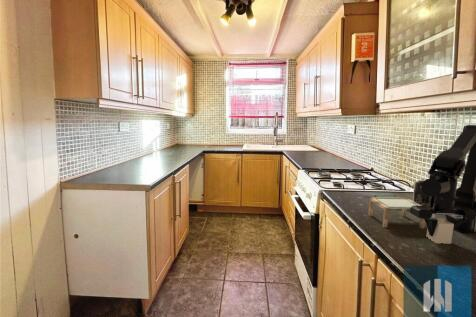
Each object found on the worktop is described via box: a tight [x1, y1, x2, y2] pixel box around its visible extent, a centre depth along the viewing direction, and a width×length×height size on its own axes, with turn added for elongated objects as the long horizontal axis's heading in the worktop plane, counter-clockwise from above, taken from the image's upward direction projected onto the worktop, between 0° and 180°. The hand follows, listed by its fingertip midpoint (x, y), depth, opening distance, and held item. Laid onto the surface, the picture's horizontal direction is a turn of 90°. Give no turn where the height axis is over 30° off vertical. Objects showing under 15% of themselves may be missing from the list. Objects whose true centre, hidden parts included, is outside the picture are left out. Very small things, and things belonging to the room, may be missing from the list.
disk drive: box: [373, 194, 398, 198], centre depth 133 cm, size 10×3×15 cm
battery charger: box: [412, 179, 430, 205], centre depth 133 cm, size 7×4×11 cm, turn 73°
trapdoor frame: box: [367, 196, 426, 229], centre depth 110 cm, size 13×15×8 cm
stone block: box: [425, 217, 454, 245], centre depth 94 cm, size 5×5×7 cm
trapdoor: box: [377, 199, 415, 211], centre depth 109 cm, size 10×12×1 cm
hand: (438, 236), depth 94 cm, fingers closed on stone block, 5 cm apart
